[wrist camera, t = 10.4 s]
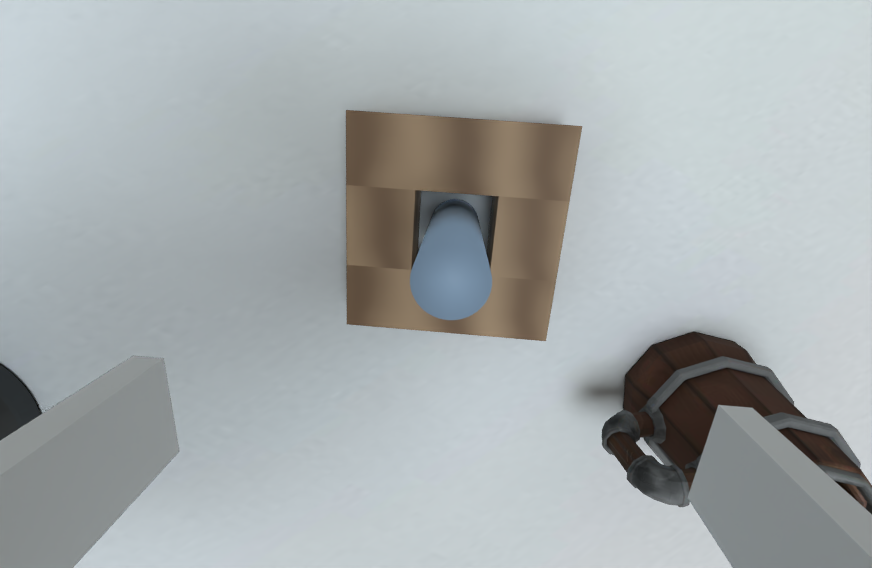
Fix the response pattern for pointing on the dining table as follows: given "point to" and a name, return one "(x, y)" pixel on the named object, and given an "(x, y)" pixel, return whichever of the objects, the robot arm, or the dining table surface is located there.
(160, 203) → the dining table surface
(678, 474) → the mug
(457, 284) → the peg
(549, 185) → the socket block
